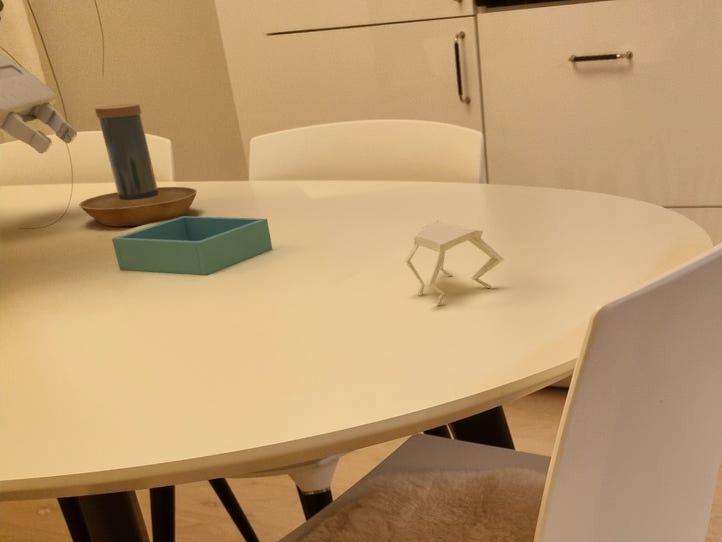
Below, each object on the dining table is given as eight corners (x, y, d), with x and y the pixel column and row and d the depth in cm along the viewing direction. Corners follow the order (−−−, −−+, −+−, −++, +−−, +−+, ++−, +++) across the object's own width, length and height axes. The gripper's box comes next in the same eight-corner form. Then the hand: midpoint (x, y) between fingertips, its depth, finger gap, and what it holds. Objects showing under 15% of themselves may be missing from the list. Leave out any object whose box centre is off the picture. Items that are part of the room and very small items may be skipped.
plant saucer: (83, 235, 116) (77, 212, 114) (85, 215, 127) (79, 194, 126) (205, 221, 119) (201, 198, 117) (196, 203, 131) (192, 182, 129)
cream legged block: (517, 295, 82) (515, 235, 79) (426, 310, 80) (420, 248, 77) (471, 267, 91) (468, 212, 88) (388, 279, 89) (382, 223, 86)
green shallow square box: (120, 274, 97) (111, 238, 95) (190, 249, 105) (183, 216, 103) (207, 280, 93) (199, 242, 91) (273, 253, 101) (267, 218, 99)
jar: (108, 199, 121) (85, 109, 115) (137, 192, 125) (115, 104, 119) (140, 200, 119) (118, 108, 113) (169, 192, 123) (149, 103, 117)
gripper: (-23, 74, 122) (75, 153, 128) (-97, 86, 105) (19, 176, 111) (0, 30, 120) (98, 113, 125) (-73, 36, 103) (45, 131, 108)
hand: (61, 143), depth 118 cm, fingers open, 8 cm apart
